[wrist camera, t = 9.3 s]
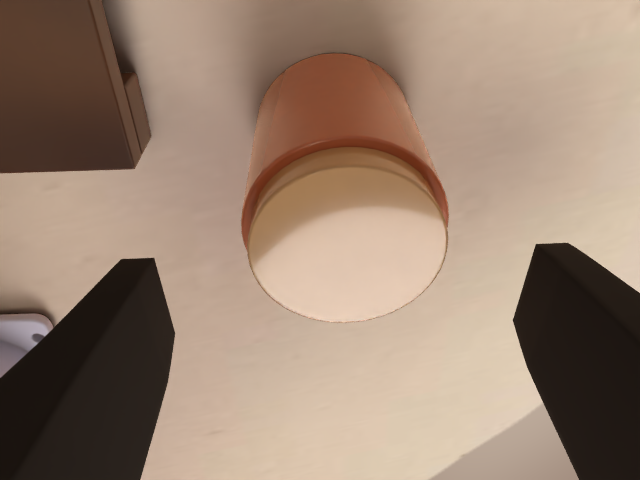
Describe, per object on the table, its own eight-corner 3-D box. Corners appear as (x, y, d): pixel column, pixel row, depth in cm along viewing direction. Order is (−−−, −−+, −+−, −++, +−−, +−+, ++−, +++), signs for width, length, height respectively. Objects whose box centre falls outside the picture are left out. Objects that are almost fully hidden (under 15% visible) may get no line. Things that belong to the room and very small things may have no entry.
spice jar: (402, 191, 17) (443, 325, 12) (263, 196, 17) (248, 333, 12) (416, 49, 14) (475, 152, 9) (249, 54, 14) (222, 159, 9)
